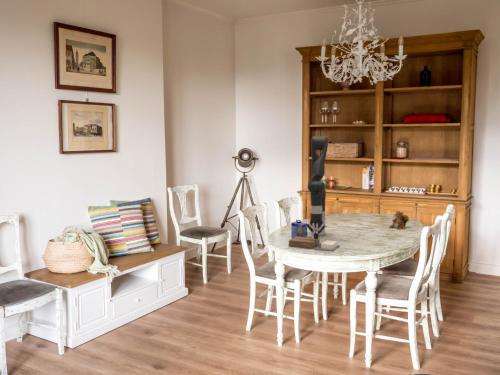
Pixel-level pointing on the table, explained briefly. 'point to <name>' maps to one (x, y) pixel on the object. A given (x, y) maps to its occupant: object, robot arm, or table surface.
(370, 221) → the table surface
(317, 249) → the mat
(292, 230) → the ink cartridge box
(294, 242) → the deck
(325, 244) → the cream rectangular block
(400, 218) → the stuffed squirrel
